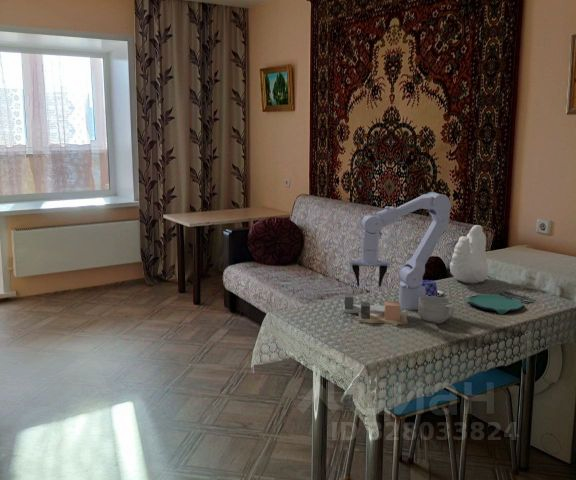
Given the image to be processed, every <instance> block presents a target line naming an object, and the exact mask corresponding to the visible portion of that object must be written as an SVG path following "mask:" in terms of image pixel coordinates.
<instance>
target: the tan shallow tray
mask: <svg viewBox="0 0 576 480" xmlns="http://www.w3.org/2000/svg"><path fill="white" fill-rule="evenodd" d="M360 305H361V313H359V315H358V317H359V318H358V320H359V321H358V323H359V322H360V323H363V322H364V323H363V324H384V323H388V324H397V325H408V323H409V321H408V317H407V315H406V314H400V320H385V318H384V314H370V305H371V302H370V301H360Z"/></svg>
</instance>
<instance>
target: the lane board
mask: <svg viewBox="0 0 576 480" xmlns="http://www.w3.org/2000/svg"><path fill="white" fill-rule="evenodd" d="M354 315H355V317H357V318H355V321H354V324H355V323H356V324H361V322H359V313H349V314H348V313H345V315H344V314H343V319H344V322H345V323H347V324H353V321H348V320H353V319H354ZM362 324H365V323H364V322H362ZM379 324H380V325H385V326H398V324H388V323H376V325H379Z"/></svg>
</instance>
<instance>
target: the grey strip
mask: <svg viewBox="0 0 576 480" xmlns="http://www.w3.org/2000/svg"><path fill="white" fill-rule="evenodd" d="M342 313H343V314H344V313H345V314H346V313H347V314H354V313H355V314H356V313H361V304H355V303H354V293H351V292H350V293H348V292H347V293H344V303H343V304H342ZM370 314H384V305H378V304H377V305H375V304H374V305H372V304H370Z"/></svg>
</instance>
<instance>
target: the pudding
mask: <svg viewBox="0 0 576 480" xmlns="http://www.w3.org/2000/svg"><path fill="white" fill-rule="evenodd" d="M420 286H424V287H425V290H426V295H430V296H434V295H435V296H436V295H437V296H436V297H441V296H442V295H443V294H444V292H443V291H442V290H439V289H438V288H437V283H436V281H435V280H432V279H431V280H430V279H423V280H422V283H421V284H420ZM438 293H439V295H438Z"/></svg>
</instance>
